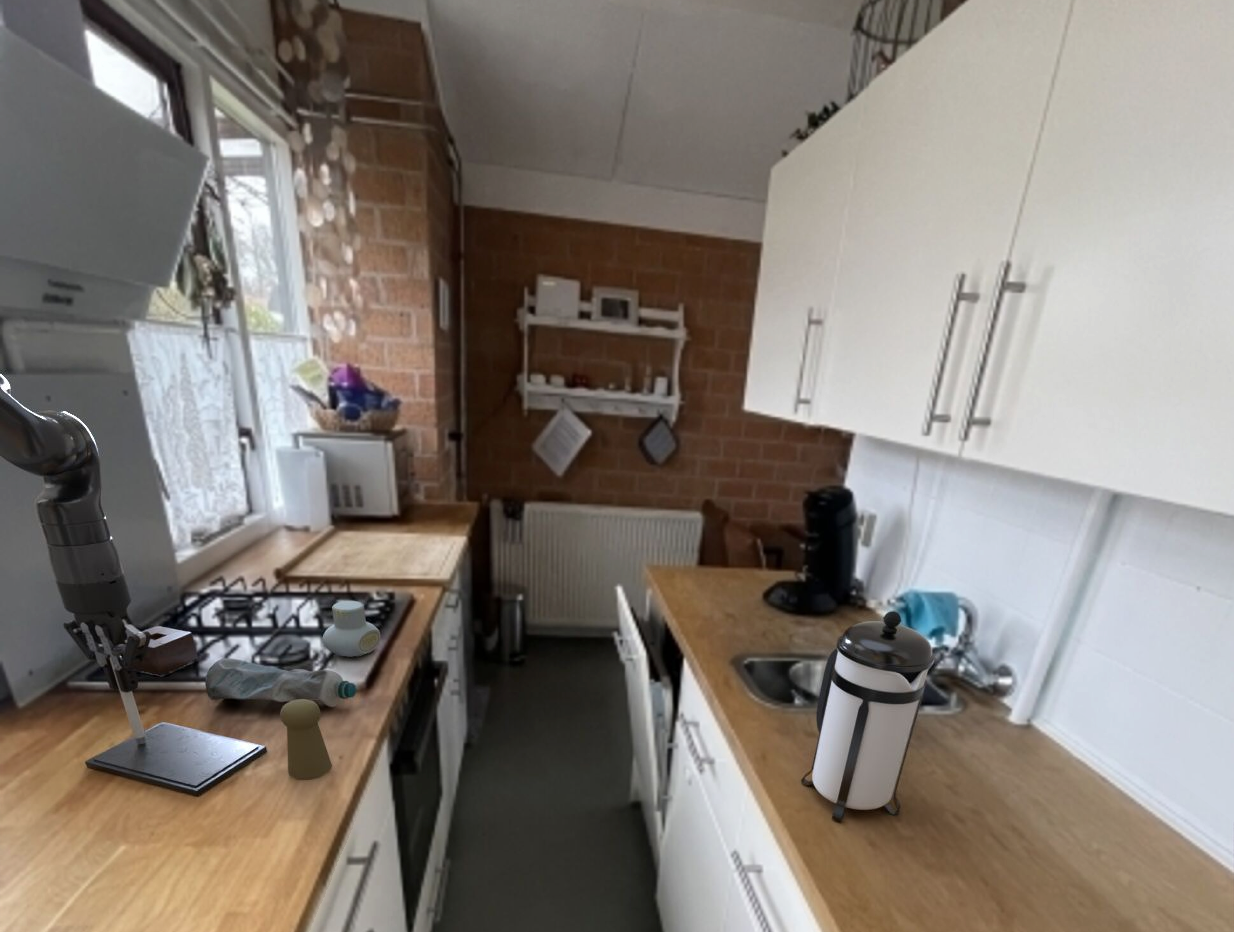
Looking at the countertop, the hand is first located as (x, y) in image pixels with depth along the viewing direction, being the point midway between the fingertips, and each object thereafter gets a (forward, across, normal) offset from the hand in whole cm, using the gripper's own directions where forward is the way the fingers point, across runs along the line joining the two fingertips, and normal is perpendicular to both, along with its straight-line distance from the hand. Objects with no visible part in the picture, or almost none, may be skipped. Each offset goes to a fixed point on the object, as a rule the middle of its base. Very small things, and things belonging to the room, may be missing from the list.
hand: (124, 688), depth 102 cm
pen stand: (+10, -22, +24) cm, 34 cm away
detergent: (+11, +8, +21) cm, 25 cm away
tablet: (+11, +7, 0) cm, 13 cm away
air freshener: (+11, +5, +44) cm, 46 cm away
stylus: (+9, 0, 0) cm, 9 cm away
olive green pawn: (+11, +26, +5) cm, 28 cm away
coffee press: (+11, +103, +29) cm, 107 cm away
